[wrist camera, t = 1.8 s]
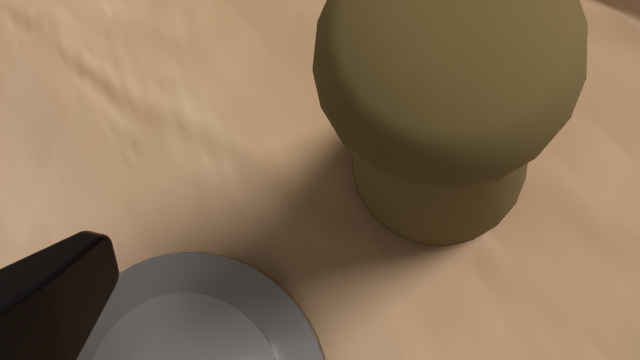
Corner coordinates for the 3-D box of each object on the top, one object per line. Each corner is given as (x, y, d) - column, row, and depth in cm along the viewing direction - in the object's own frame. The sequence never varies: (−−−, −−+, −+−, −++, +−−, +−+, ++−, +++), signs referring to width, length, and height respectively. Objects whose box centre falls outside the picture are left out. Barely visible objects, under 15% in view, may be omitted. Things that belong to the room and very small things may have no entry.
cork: (320, 188, 21) (209, 85, 10) (408, 50, 21) (387, -188, 11) (469, 280, 19) (518, 269, 9) (560, 129, 20) (714, -57, 9)
